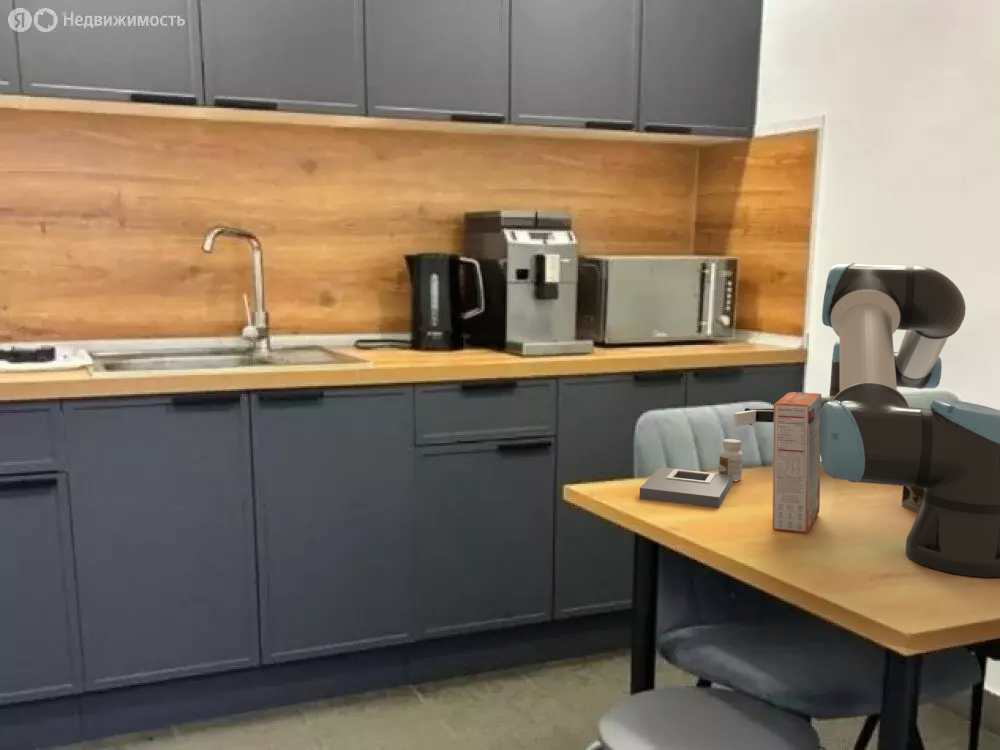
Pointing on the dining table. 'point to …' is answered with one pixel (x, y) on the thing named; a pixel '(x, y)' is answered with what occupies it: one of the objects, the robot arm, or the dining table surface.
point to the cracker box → (796, 462)
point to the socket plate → (686, 487)
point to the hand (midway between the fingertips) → (762, 425)
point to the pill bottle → (731, 459)
